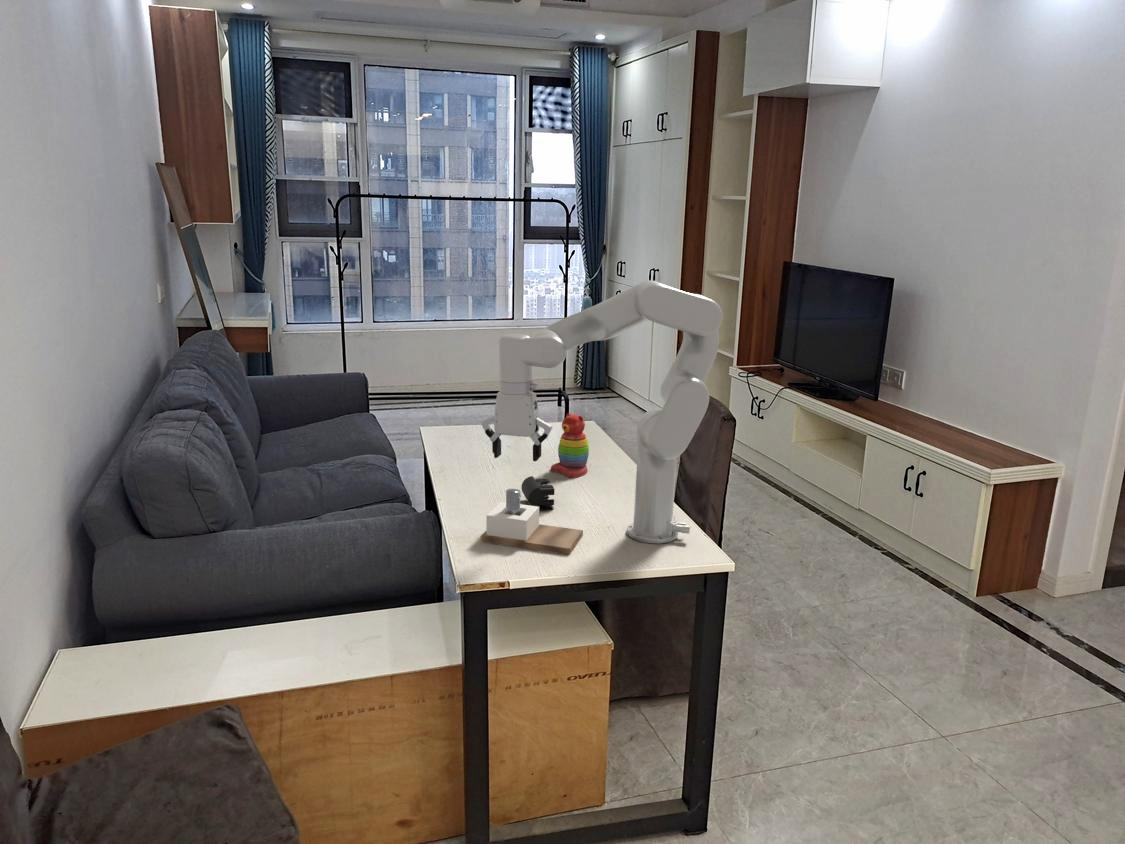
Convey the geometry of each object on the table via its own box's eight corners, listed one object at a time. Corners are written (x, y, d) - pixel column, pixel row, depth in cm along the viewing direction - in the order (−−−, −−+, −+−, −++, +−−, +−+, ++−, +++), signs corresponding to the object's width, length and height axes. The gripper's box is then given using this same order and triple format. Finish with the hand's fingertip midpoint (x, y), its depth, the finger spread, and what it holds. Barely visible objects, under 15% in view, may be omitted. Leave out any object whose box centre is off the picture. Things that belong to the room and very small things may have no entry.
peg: (521, 528, 203) (522, 489, 201) (517, 533, 200) (517, 494, 197) (508, 526, 204) (508, 488, 201) (504, 531, 201) (504, 492, 198)
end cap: (520, 499, 228) (521, 476, 226) (546, 498, 229) (546, 475, 228) (527, 512, 218) (528, 488, 217) (554, 511, 220) (555, 486, 218)
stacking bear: (547, 469, 254) (549, 413, 250) (572, 464, 261) (574, 409, 256) (571, 479, 246) (573, 420, 242) (596, 472, 253) (598, 416, 249)
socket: (538, 525, 205) (539, 506, 204) (526, 540, 196) (526, 520, 195) (500, 520, 208) (500, 501, 206) (486, 535, 198) (486, 515, 197)
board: (582, 535, 204) (582, 530, 203) (569, 554, 192) (570, 548, 192) (498, 524, 209) (498, 518, 209) (480, 541, 198) (480, 535, 198)
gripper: (556, 386, 194) (556, 456, 199) (486, 382, 199) (488, 450, 203) (547, 393, 187) (547, 465, 192) (475, 388, 192) (477, 459, 196)
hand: (516, 458), depth 197 cm, fingers open, 9 cm apart
